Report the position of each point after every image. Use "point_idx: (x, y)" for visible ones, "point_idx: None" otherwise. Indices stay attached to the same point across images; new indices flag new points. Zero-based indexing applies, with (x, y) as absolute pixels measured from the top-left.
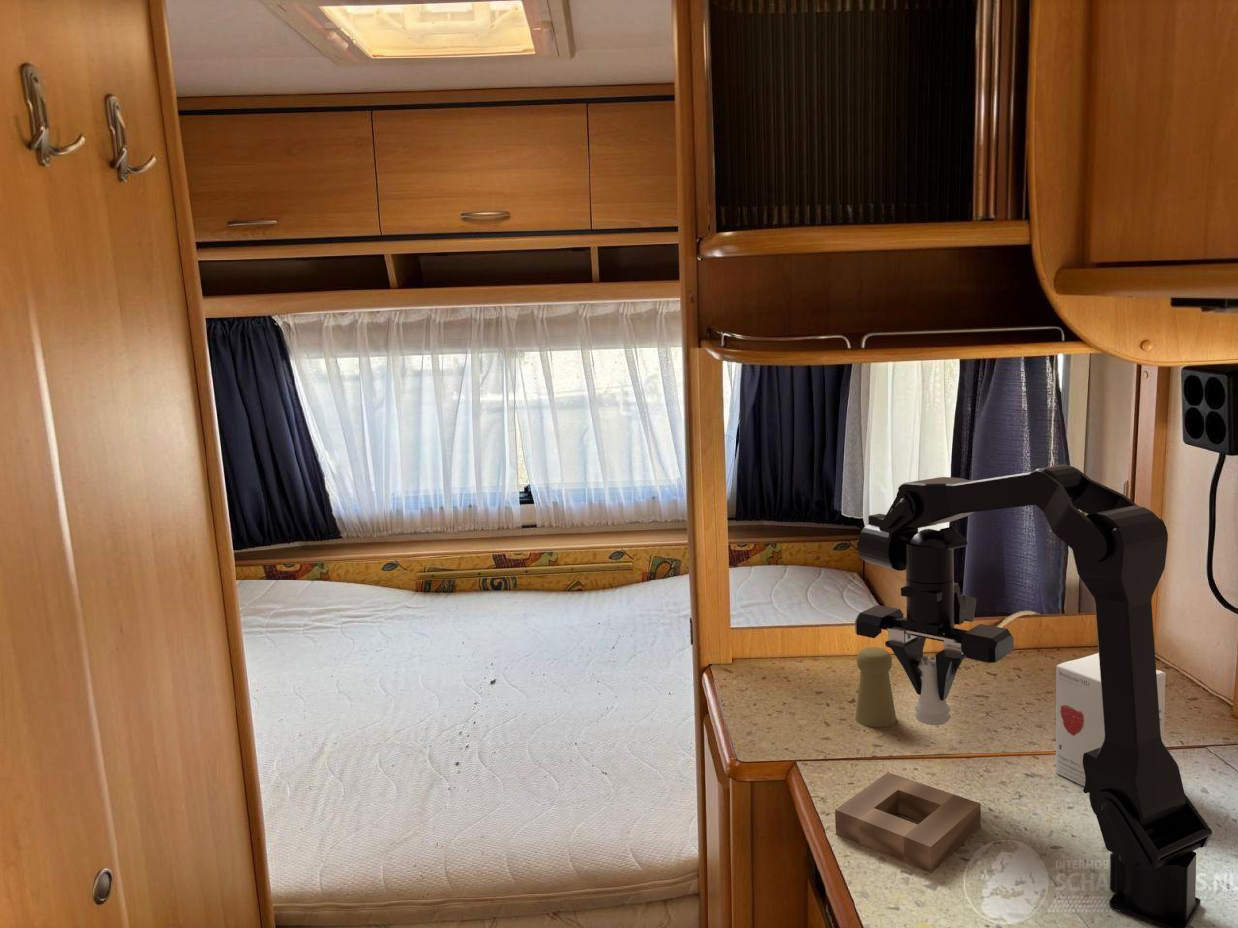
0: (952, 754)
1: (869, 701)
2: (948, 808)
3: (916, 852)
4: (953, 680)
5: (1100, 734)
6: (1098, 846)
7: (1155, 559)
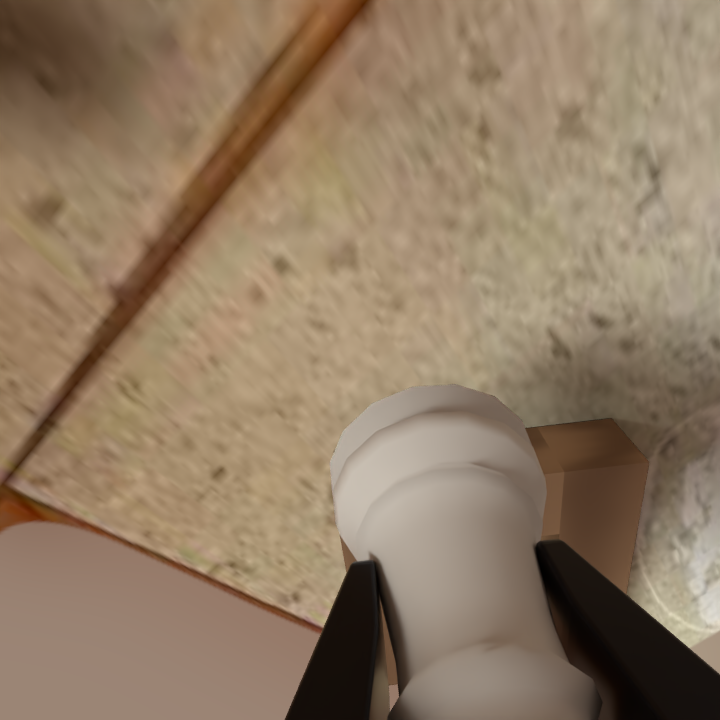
0: (299, 36)
1: None
2: (582, 535)
3: None
4: (694, 656)
5: None
6: None
7: None
